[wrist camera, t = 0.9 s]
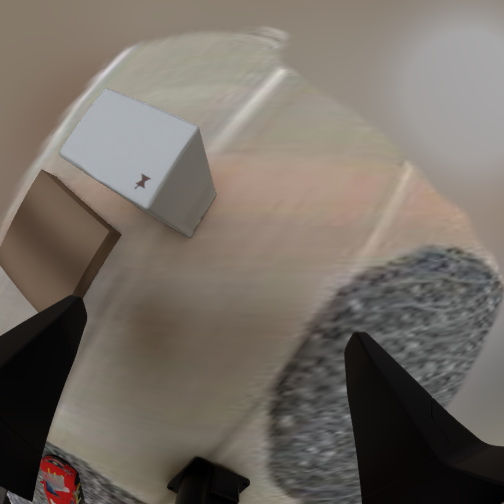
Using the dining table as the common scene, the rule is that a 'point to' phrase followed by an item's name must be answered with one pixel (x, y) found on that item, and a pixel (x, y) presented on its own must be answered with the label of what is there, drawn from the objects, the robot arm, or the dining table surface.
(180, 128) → the skincare box
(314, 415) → the dining table surface
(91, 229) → the walnut block
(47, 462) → the race car
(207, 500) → the robot arm
